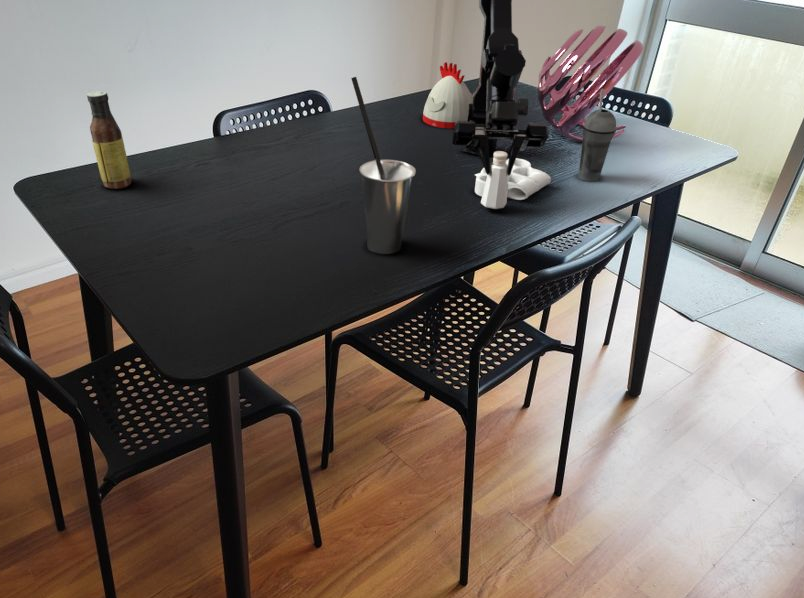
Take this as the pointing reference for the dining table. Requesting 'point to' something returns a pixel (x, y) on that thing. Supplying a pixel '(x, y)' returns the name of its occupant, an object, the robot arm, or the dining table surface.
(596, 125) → the beverage cup
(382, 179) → the steel tumbler with stirrer
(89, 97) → the sauce bottle
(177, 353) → the dining table surface
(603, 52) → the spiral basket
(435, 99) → the kitchen timer
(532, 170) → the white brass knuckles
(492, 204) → the salt shaker
